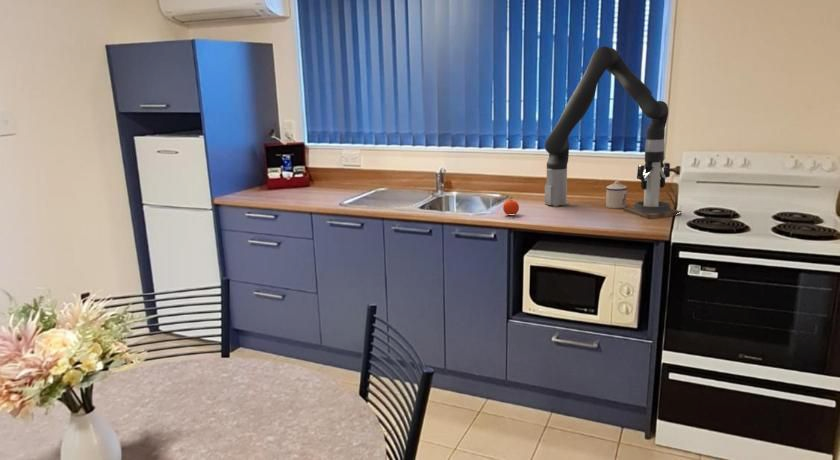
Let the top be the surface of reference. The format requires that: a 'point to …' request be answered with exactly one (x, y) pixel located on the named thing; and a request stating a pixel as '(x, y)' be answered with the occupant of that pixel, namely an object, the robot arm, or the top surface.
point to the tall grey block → (653, 187)
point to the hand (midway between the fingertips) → (652, 188)
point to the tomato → (510, 207)
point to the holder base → (651, 215)
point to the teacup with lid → (616, 195)
